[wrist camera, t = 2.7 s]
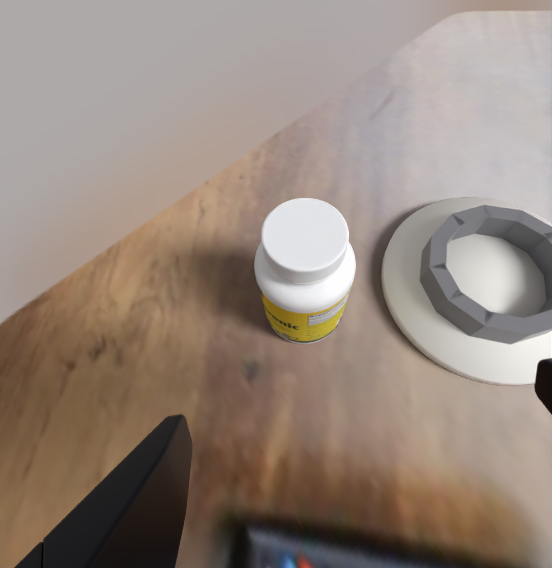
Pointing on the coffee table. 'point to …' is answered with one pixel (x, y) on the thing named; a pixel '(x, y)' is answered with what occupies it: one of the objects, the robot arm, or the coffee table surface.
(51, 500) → the coffee table surface
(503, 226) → the socket collar
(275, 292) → the supplement bottle
